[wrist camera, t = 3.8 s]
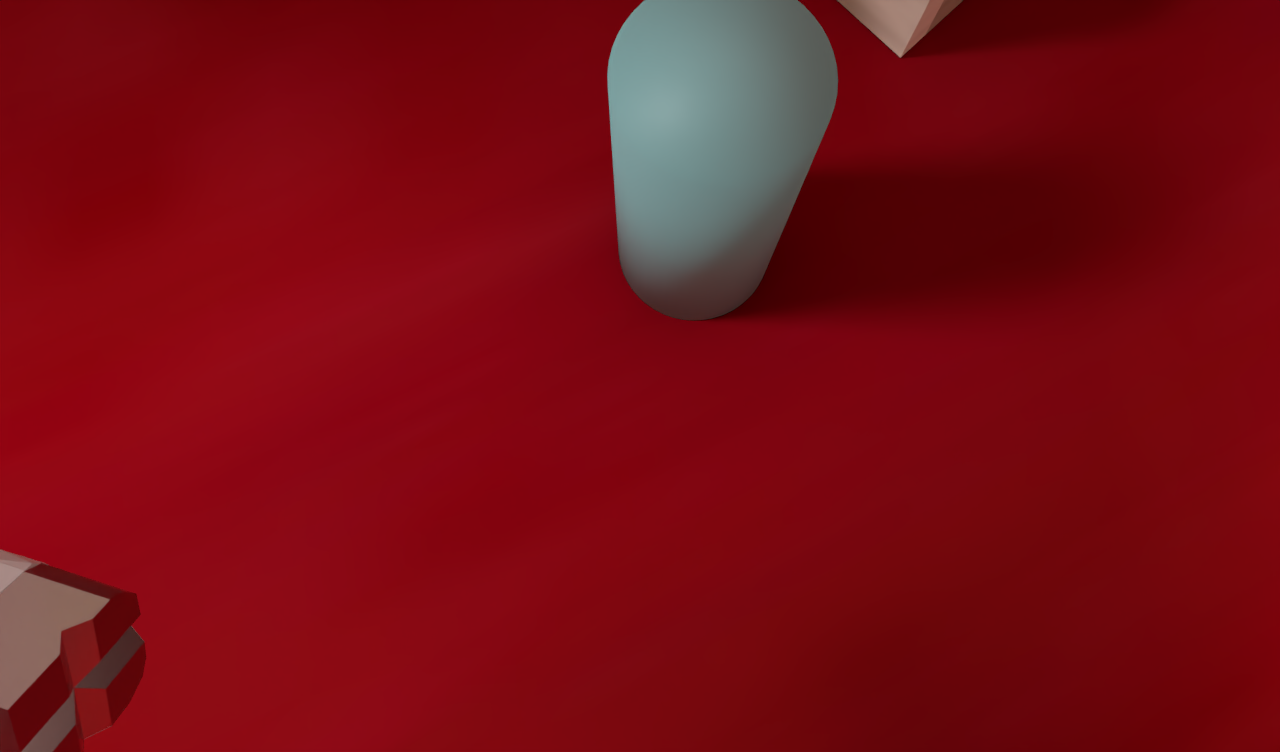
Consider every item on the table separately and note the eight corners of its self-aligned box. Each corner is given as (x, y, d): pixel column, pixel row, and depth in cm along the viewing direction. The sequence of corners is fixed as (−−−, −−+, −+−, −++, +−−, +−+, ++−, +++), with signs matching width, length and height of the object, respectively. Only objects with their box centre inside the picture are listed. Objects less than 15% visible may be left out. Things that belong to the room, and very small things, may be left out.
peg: (587, 244, 25) (559, 73, 17) (695, 148, 26) (724, -68, 17) (692, 351, 25) (721, 232, 16) (800, 250, 25) (885, 80, 16)
